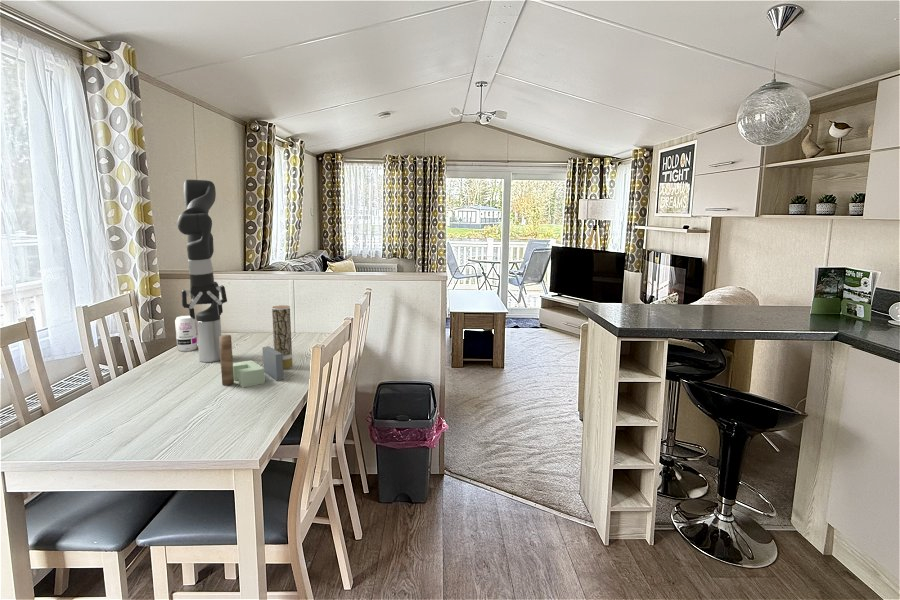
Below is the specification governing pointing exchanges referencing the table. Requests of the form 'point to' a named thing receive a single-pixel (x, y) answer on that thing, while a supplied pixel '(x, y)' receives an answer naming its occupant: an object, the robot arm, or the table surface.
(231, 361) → the brown banded cylinder
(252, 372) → the cradle
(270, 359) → the wall
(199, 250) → the robot arm
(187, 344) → the supplement can
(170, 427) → the table surface
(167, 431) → the table surface
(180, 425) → the table surface
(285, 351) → the brown bark cylinder
